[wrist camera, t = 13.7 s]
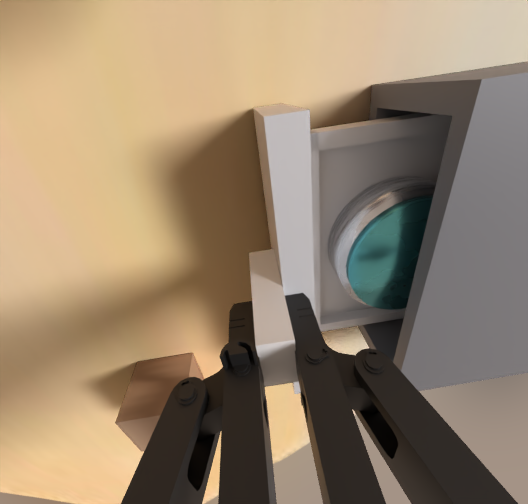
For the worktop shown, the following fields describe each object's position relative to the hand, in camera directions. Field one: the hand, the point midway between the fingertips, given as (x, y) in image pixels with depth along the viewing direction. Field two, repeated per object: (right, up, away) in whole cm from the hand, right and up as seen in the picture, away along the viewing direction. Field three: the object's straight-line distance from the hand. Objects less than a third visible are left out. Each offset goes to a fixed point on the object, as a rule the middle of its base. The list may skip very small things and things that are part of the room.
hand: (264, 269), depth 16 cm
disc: (+8, +2, +1) cm, 8 cm away
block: (-9, -10, +9) cm, 16 cm away
